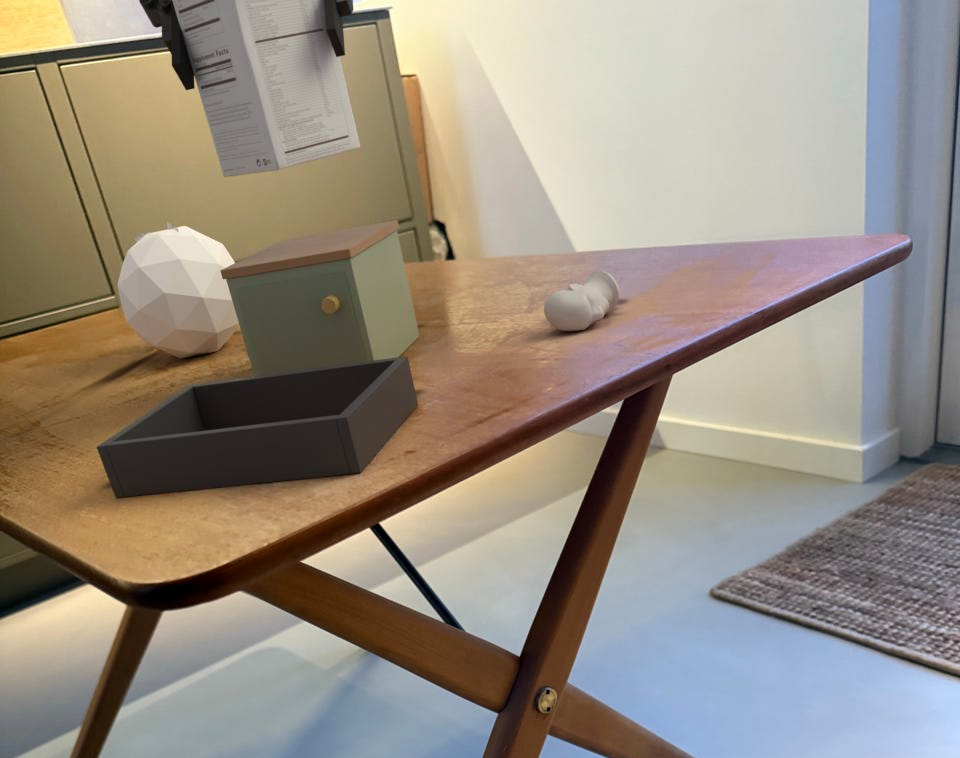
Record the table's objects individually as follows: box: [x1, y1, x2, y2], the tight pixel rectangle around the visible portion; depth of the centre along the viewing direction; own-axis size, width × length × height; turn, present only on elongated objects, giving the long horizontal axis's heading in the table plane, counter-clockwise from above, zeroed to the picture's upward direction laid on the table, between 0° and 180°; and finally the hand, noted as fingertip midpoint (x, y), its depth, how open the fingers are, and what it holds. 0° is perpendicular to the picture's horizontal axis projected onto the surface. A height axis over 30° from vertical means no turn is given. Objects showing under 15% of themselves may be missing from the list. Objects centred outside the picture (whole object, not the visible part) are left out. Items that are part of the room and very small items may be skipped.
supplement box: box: [172, 0, 361, 178], centre depth 87 cm, size 10×9×17 cm
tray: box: [96, 355, 419, 498], centre depth 78 cm, size 20×15×4 cm
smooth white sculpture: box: [543, 269, 621, 332], centre depth 95 cm, size 4×8×5 cm
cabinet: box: [221, 219, 420, 377], centre depth 97 cm, size 12×15×11 cm
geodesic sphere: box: [116, 222, 240, 360], centre depth 116 cm, size 15×14×14 cm
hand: (258, 60), depth 86 cm, fingers closed on supplement box, 13 cm apart
